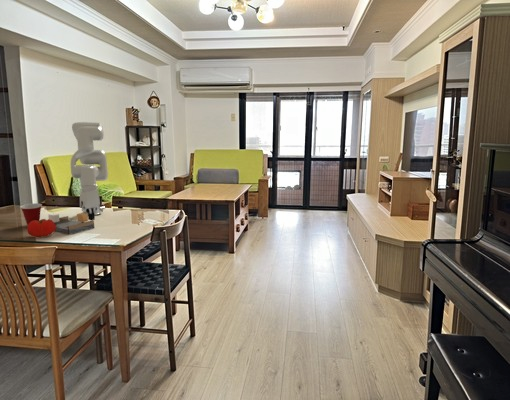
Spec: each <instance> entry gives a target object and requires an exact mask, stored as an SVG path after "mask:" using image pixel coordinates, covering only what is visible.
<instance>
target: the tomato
mask: <svg viewBox="0 0 510 400" xmlns="http://www.w3.org/2000/svg"><path fill="white" fill-rule="evenodd" d="M55 230H56V225H55V223H54V222H53V221H52V220H50V219H49V218H48V219H46V218H40V220H39V221H37V220H33V221H31V222H30V223H29V224H28V225H26V231H27V234H28V235H29V236H31V237H34V238H37V239H38V238H45V237H49V236H50V235H52V234H53V233H55Z"/></svg>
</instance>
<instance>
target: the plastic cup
mask: <svg viewBox="0 0 510 400" xmlns="http://www.w3.org/2000/svg"><path fill="white" fill-rule="evenodd" d="M42 207H43V204H42V203H26V204H23V205H20V206H19V208H20V209H21V211H22V214H23V217H24V220H25V223H26V226H28V224H29V223H30V222H31V221H33V220H37V221H39V220H41V210H42Z"/></svg>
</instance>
